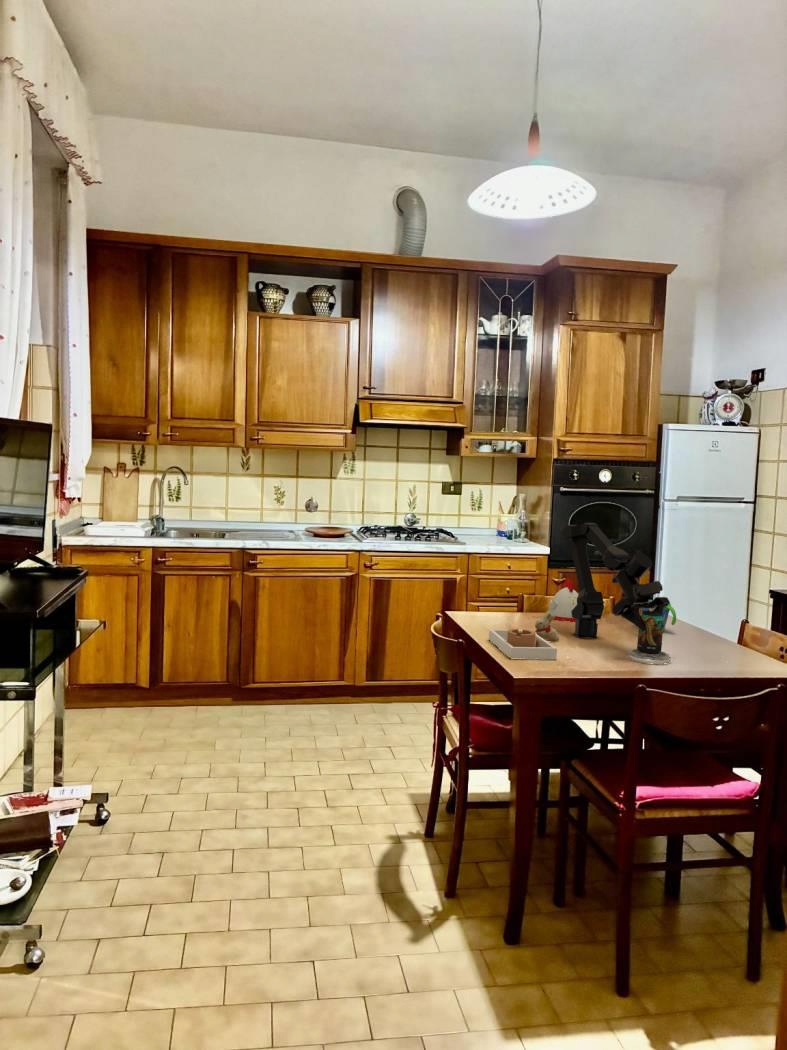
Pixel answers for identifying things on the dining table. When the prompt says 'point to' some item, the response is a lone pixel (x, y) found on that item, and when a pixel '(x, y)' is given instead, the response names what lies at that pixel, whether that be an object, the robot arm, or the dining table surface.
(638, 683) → the dining table surface
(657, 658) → the shallow metal dish
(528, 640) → the bracket
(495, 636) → the gray rectangular tray
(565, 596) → the kitchen timer
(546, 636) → the chocolate bunny
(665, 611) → the snack cup
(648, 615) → the beverage can
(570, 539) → the robot arm
